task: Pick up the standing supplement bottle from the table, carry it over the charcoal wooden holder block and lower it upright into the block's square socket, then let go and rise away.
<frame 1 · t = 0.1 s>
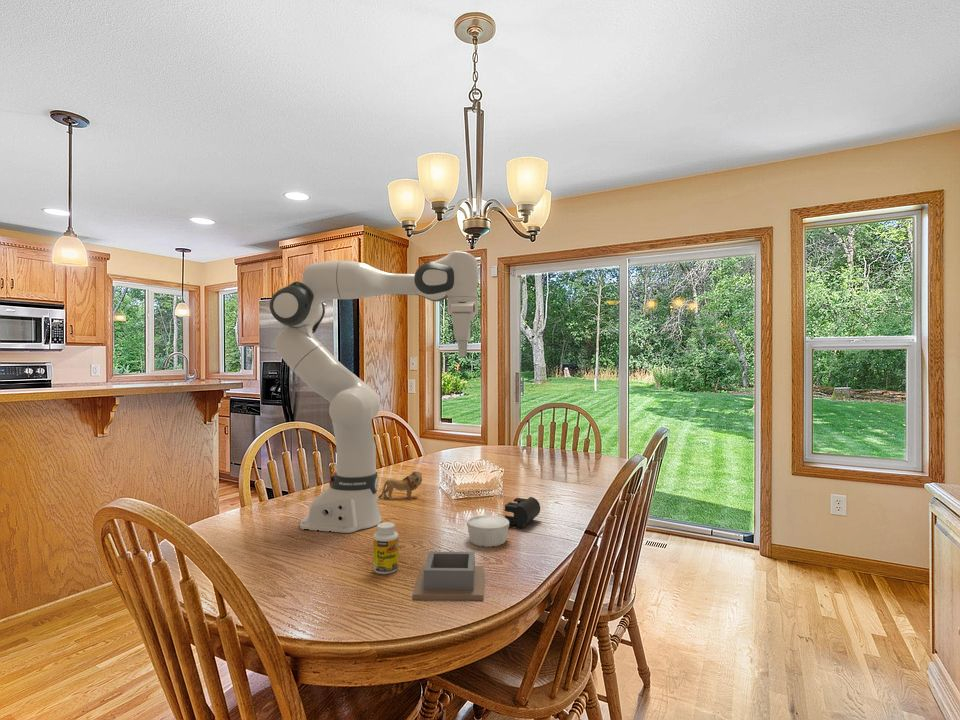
hand: (462, 356, 149), 48 cm above the table, tool pointing down, fingers open, 8 cm apart
ramekin: (488, 541, 135), on the table
socket holder: (450, 584, 109), on the table
supplement bottle: (385, 571, 117), on the table
end cap: (522, 524, 149), on the table
lion figurine: (401, 498, 176), on the table
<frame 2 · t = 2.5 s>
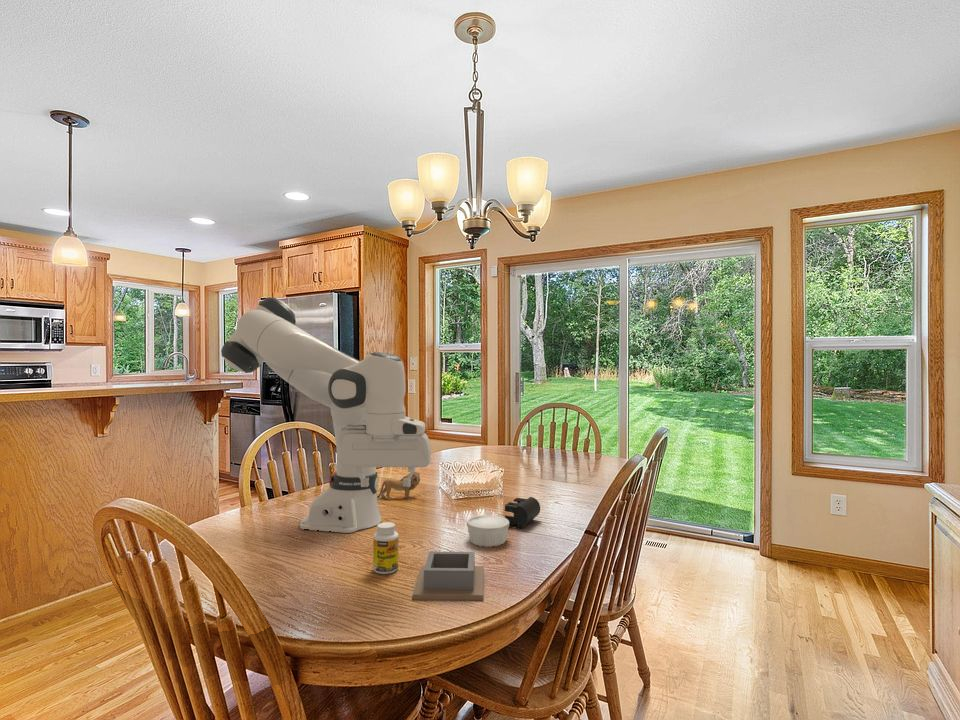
hand: (385, 486, 116), 19 cm above the table, tool pointing down, fingers open, 8 cm apart
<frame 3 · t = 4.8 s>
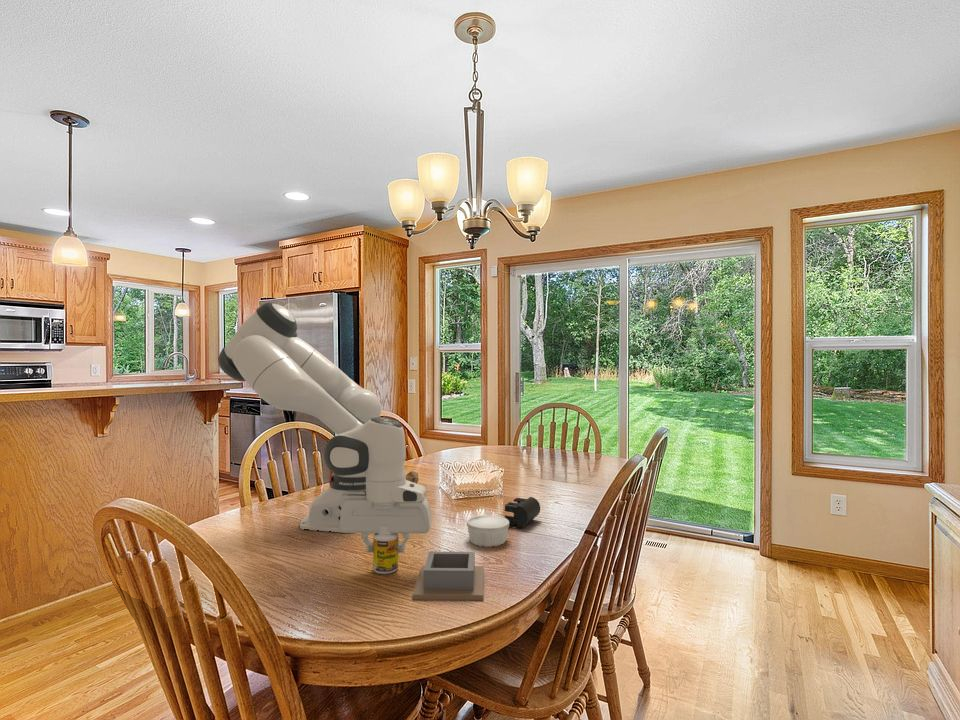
hand: (385, 551, 117), 4 cm above the table, tool pointing down, fingers closed on supplement bottle, 5 cm apart
supplement bottle: (385, 570, 117), on the table, touching gripper
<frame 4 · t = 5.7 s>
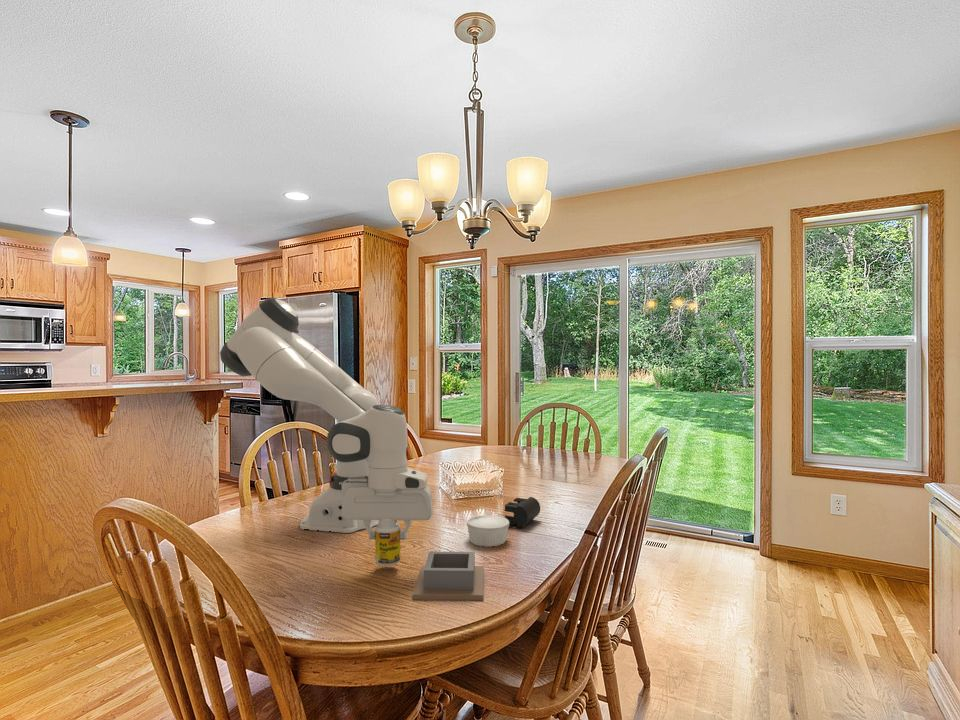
hand: (387, 538, 117), 7 cm above the table, tool pointing down, fingers closed on supplement bottle, 5 cm apart
supplement bottle: (388, 563, 117), point 1 cm above the table, touching gripper
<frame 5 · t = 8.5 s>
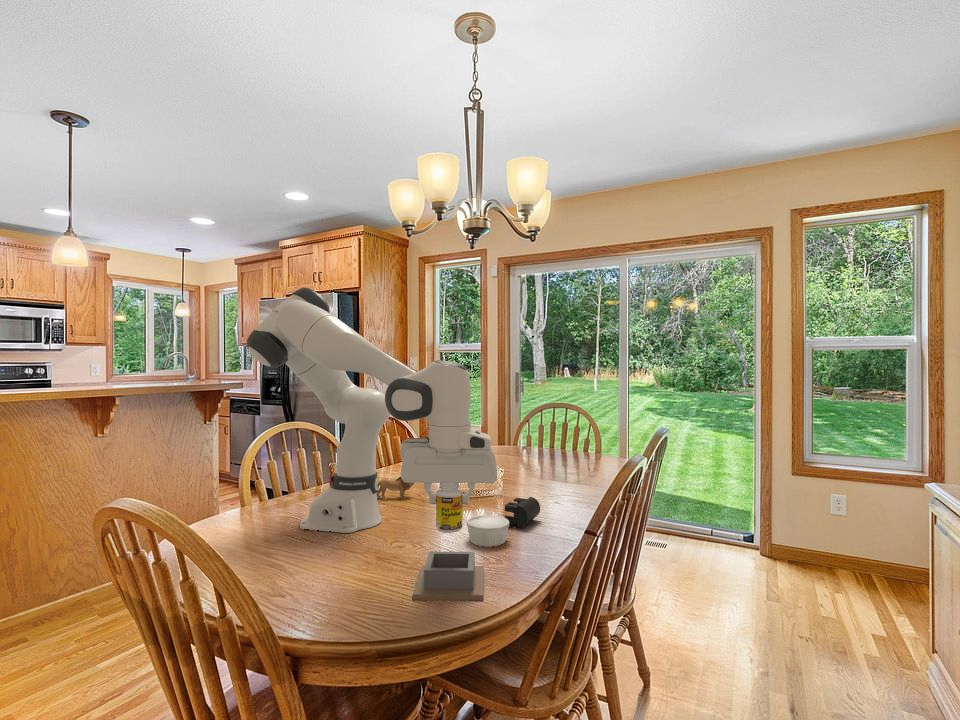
hand: (449, 503, 109), 17 cm above the table, tool pointing down, fingers closed on supplement bottle, 5 cm apart
supplement bottle: (449, 530, 109), point 11 cm above the table, touching gripper
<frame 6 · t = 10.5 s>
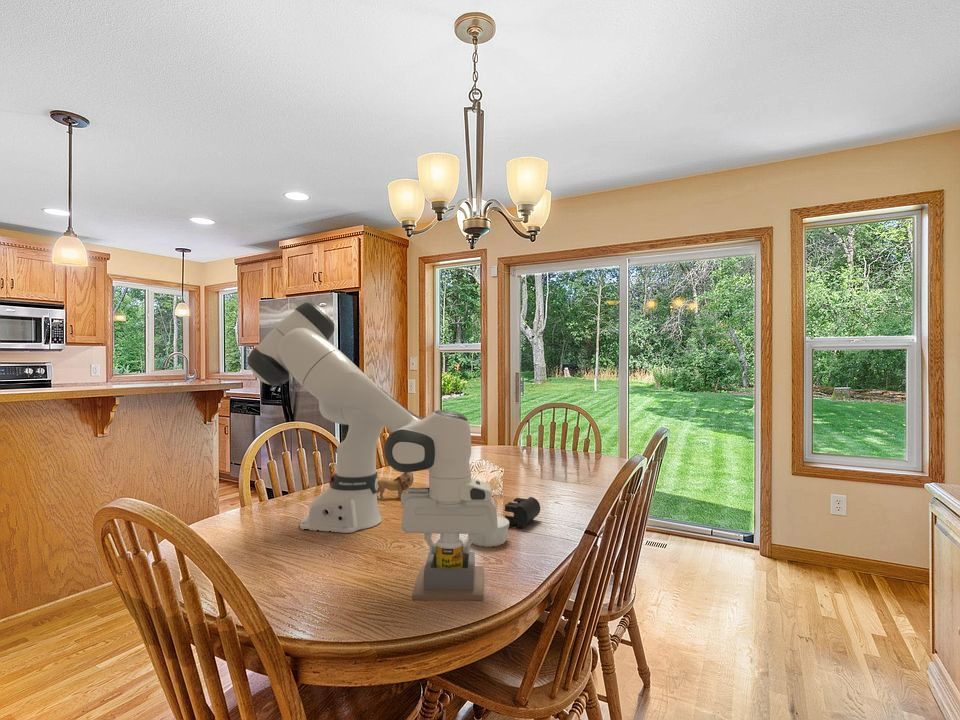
hand: (449, 553, 109), 7 cm above the table, tool pointing down, fingers closed on supplement bottle, 5 cm apart
supplement bottle: (449, 580, 109), point 1 cm above the table, touching gripper
when the fingers open (7 cm above the table, at t = 11.5 s): supplement bottle stays where it is, resting on socket holder.
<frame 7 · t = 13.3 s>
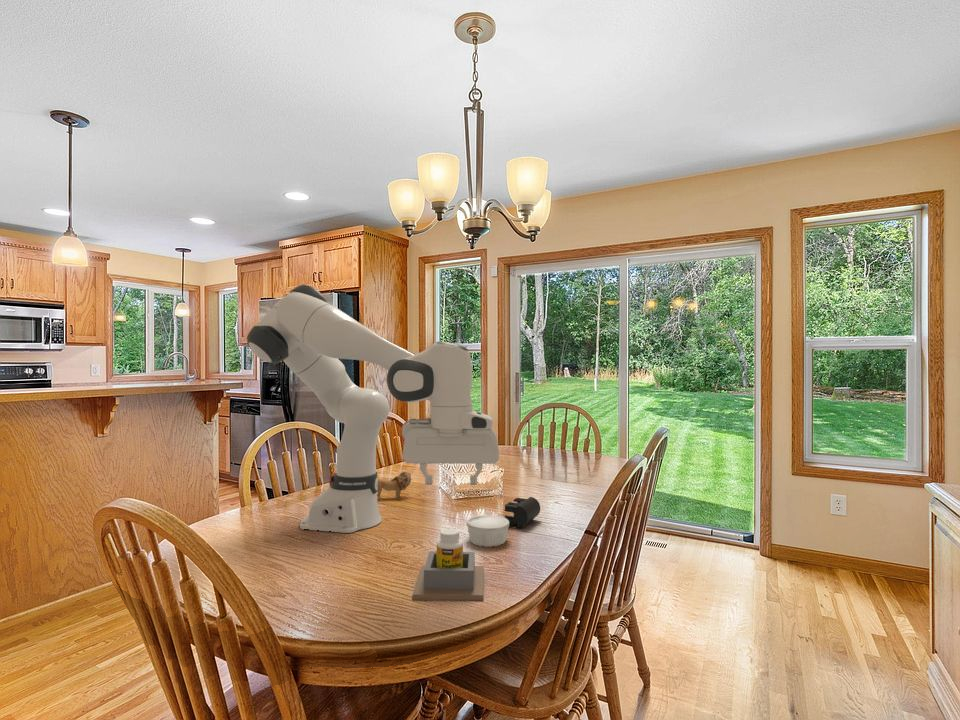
hand: (451, 484, 109), 21 cm above the table, tool pointing down, fingers open, 8 cm apart
supplement bottle: (449, 580, 109), point 1 cm above the table, touching socket holder
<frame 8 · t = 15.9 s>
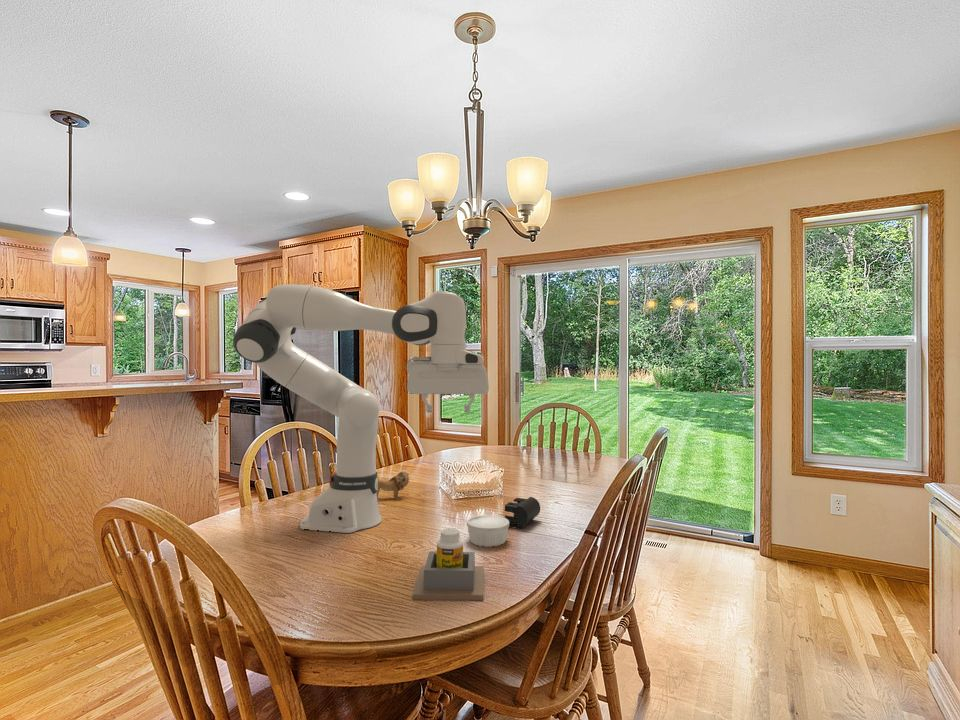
hand: (448, 412, 129), 34 cm above the table, tool pointing down, fingers open, 8 cm apart
at the end: supplement bottle 0.1 cm off-centre on the socket holder, point 0.8 cm above the socket holder's base; supplement bottle tilted 0°; the gripper is holding nothing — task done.
